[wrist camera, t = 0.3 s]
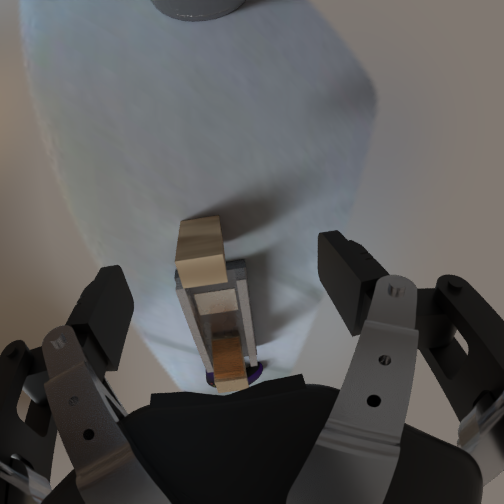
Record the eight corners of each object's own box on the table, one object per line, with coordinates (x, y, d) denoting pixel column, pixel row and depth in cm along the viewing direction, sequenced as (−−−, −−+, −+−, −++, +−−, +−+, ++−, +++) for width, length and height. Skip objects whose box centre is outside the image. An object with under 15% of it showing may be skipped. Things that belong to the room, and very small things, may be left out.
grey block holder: (175, 270, 31) (170, 326, 24) (244, 259, 32) (255, 314, 25) (204, 354, 41) (207, 401, 34) (255, 346, 42) (265, 393, 35)
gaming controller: (266, 363, 44) (259, 396, 42) (253, 358, 49) (247, 388, 47) (210, 356, 41) (204, 392, 39) (202, 350, 46) (196, 382, 44)
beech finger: (223, 244, 30) (228, 287, 25) (187, 250, 30) (185, 293, 24) (218, 215, 28) (222, 254, 23) (180, 221, 28) (174, 261, 22)
